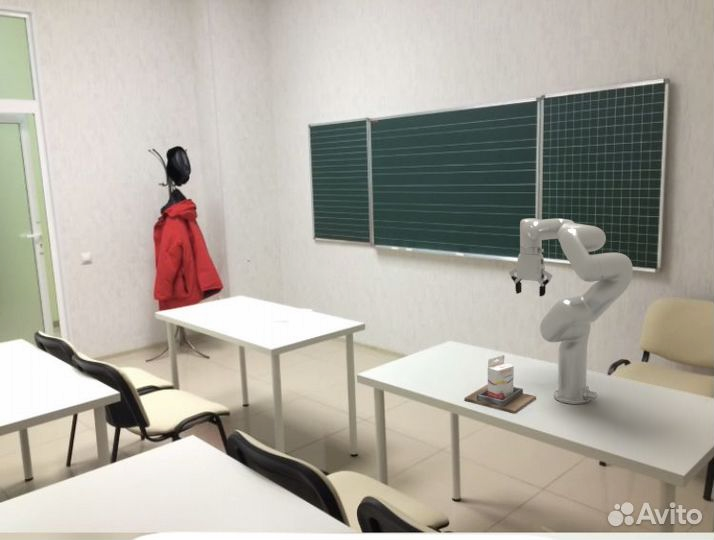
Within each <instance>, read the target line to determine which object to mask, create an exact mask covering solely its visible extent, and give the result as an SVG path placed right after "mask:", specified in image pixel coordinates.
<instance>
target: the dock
mask: <svg viewBox="0 0 714 540" xmlns="http://www.w3.org/2000/svg"><path fill="white" fill-rule="evenodd" d="M536 399H537V396H536V395H533V394H530V393H529V394H528V393H524V388H522V387H517V386H513V394H511V395H510V396H508V397H507V398H505V399H503V400H499V399H495V398H491V397H488V384H486V385H484V386H482V387H481V388H479V389H477V390H475V391H473V392H472V393H470V394H468V395H467V396H465V397H464V401H465V402H469V403H472V404H477V405H481V406H485V407H488V408H491V409H495V410H500V411H503V412H507V413H511V414H514V413H515V414H516V413H518V412H520V411H521V410H522V409H523V408H525V407H526V406H528V405H529V404H531V403H532V402H533V401H535V400H536ZM527 404H528V405H527Z"/></svg>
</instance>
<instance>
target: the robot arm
mask: <svg viewBox="0 0 714 540" xmlns="http://www.w3.org/2000/svg"><path fill="white" fill-rule="evenodd" d="M519 223H520V224H519V245H520V246H519V248H520V249H519V254H518V255H517V256H518V257H517V262H516V268H514V269H513V270H510V271H509V272H508V274H509V276H510V279H511V280H512V281H513V283H514V284H515V286H514V289H515V294H517V295H518V294H521V293H522V282H521V281H522V280H523V281H533V282H534V281H535V282H538V284H539V285H540V286H538V288H539V289H538V290H539V292H538V293H539V297H543V296H545V294H546V286H547V285H548V284H549V283H550V281H551V280H552V278H553V274H552V273H550V272H548V271H547V270H546V267H545V266H546V265H545V258H544V255H543V254H542V253H544V251H545V249H544V248H542V246H541V242H542V241H545V240H555V239H557V240H558V243H560V248H561V250H562V252H563V253H564V255H565V257H566V259H567V261H568V262H569V264H570V266H571V267H572V269H573V271H574V272H575V274H576V275H577V276H578V278H579V279H580V280H581V281H584V282H587V283H590V282H595V283H593V285H591V286H590V287H589V288H588V289H587V291H586V292H585V293H583V294H582V295H577V296H571V297H565V298H563V299H560V300H558V301H557V302H556V303H554V305H553V306H552V307H551V308H550V309H549V310H548V311H547V313H546V314H545V316H543V318H542V319H541V322H540V324H539V332H540V334H541V338H543V339H544V340H545V341H546V342H549V343H560V344H559V347H558V360H557V361H558V362H557V363H558V365H557V366H558V367H557V368H558V372H557V373H558V374H557V378H558V379H557V381H558V382H557V389H556V390H555V391H554V392H553V397H554V399H555V400H557V401H558V402H561V403H564V404H570V405H581V404H587V403H588V402H590V400H592V399H593V400H597V399H598V396H599V395H598V394H597V391H593V390H590V385H587V371H588V370H587V369H588V366H587V363H588V362H587V361H588V360H587V358H588V343H589V337H590V333H591V323H594V322H596V321H597V320H598V319H599V318H600V317H601V316H603V314H604V313H605V312H606V311H607V310H608V309H609V308H610V307H611V306H612V305H613V303H615V302H616V301H617V299H619V298H620V297H621V296H622V295H623V294H624V293H625V292H626V290H627V289H628V288H629V286H630V284H631V282H632V279H633V273H634V272H633V269H634V268H633V263H632V261H631V259H630V257H628V256H627V255H626V254H623V253H620V252H603V253H595V254H590V252H591V253H592V252H595V251H598V250H600V249H601V248H603V246H604V245H605V243H606V240H607V239H606V238H607V237H606V233H605V232H604V230H603V229H601V228H599V227H597V226H595V225H588V224H582V223H575V222H574V221H573V220H571V219H565V218H547V219H545V218H544V219H539V218H530V217H528V218H523V219H521V220H520V222H519ZM515 273H516V274H515Z"/></svg>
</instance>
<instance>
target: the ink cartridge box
mask: <svg viewBox="0 0 714 540" xmlns="http://www.w3.org/2000/svg"><path fill="white" fill-rule="evenodd" d="M505 356H506V355H504V354H503V355H499V356H495V357H492V358H489V359H488V361H487V362H488V363H487V385H488V397H491V398H495V399H499V400H503V399H505V398H507V397H508V396H510V395H511V394H513V387H514V374H515V373H514V370H515V369H514V366H515V365H512V364H510V363H507V362H505Z"/></svg>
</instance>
